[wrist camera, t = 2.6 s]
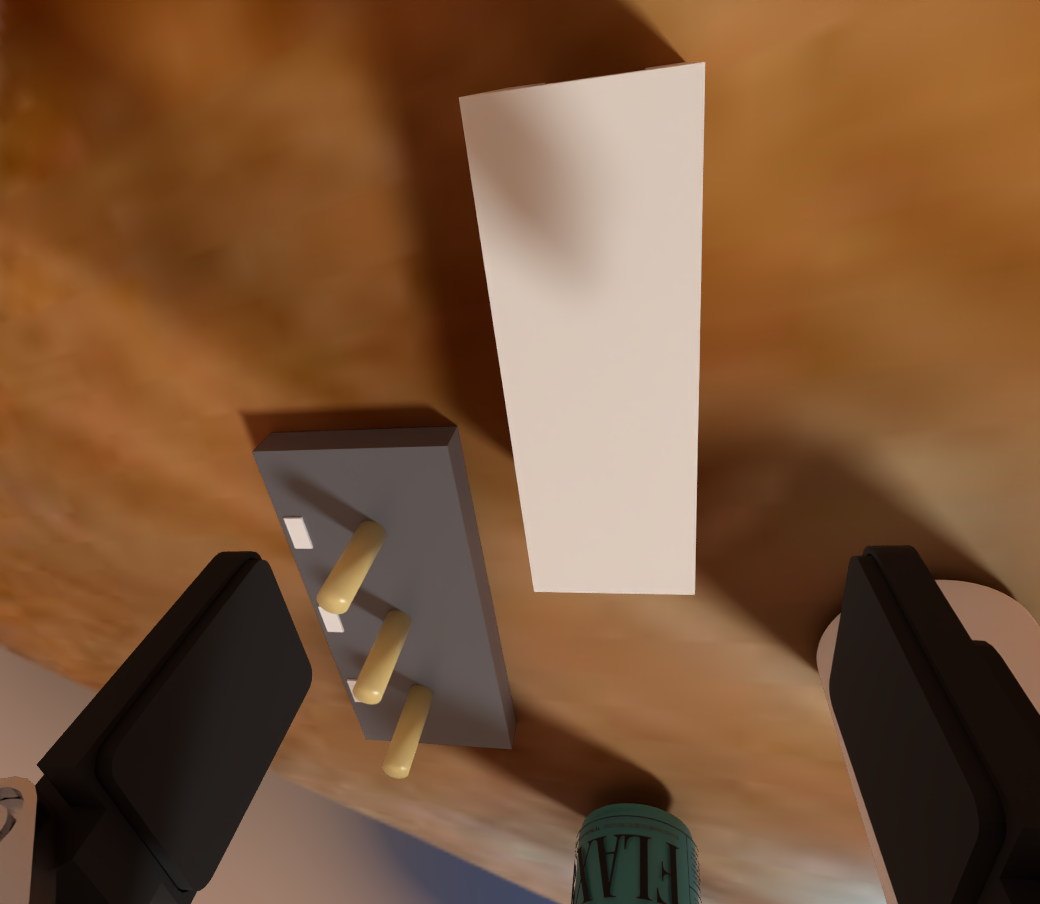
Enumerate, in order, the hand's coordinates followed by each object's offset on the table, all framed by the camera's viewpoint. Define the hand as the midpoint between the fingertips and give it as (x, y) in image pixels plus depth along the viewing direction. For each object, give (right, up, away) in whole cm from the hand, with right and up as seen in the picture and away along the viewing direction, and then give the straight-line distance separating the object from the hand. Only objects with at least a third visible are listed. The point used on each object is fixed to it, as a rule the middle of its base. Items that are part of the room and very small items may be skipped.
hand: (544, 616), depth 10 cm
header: (-6, -4, +19) cm, 21 cm away
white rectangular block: (+3, +7, +11) cm, 14 cm away
